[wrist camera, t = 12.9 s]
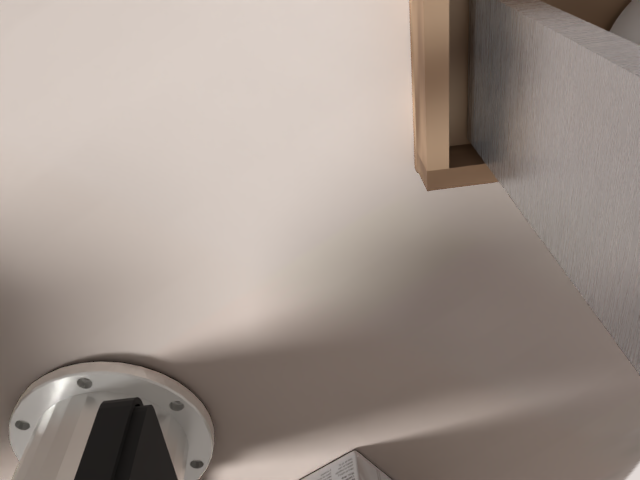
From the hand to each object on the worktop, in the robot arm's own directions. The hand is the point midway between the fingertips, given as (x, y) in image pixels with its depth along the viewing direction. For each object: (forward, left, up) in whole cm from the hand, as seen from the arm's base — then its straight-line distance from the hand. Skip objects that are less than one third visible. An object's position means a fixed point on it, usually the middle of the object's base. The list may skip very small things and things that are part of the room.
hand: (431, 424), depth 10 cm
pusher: (0, -7, -19) cm, 20 cm away
